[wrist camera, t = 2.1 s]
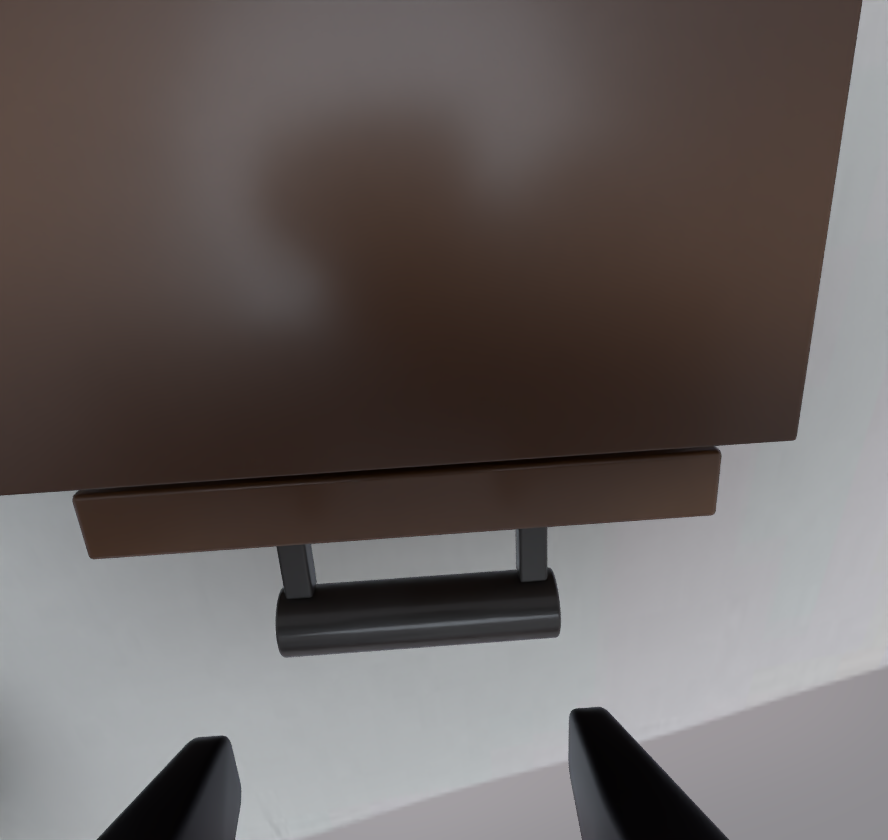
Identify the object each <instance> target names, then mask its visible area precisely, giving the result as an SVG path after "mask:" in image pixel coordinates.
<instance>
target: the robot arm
mask: <svg viewBox="0 0 888 840" xmlns="http://www.w3.org/2000/svg"><path fill="white" fill-rule="evenodd" d="M568 760H569V772H570V779H571V784H572V789H573V794H574V800H575V805H576V810H577V815H578V821H579V826H580V831H581V836H582V840H729V839H728V838H727V837H726V836H725V835H724V834H723V833H722V832H721V831H720V830H719V829H718V828H717V827H716V825H715V824H714V823H713V822H712V821H711V820H710V819H709V818H708V817H707V816H706V815H705V814H704V813H703V812H702V811H701V810H700V808H699V807H698V806H697V805H696V804H695V803H694V802H693V801H692V800H691V799H690V798H689V797H688V796H687V795H686V794H685V792H684V791H682V789H681V788H680V787H679V786H678V785H677V784H676V783H675V782H674V781H673V780H672V779H671V778H670V777H669V776H668V774H667V773H666V772H665V771H664V770H663V769H662V768H661V767H660V766H659V765H658V764H657V763H656V762H655V761H654V760H653V759H652V757H651V756H650V755H649V754H648V753H647V752H646V751H645V750H644V749H643V748H642V747H641V746H640V745H639V744H638V743H637V742H636V740H635V739H634V738H633V737H632V736H631V735H630V734H629V733H628V732H627V731H626V730H625V729H624V728H623V727H622V726H621V725H620V724H619V722H618V721H617V720H616V719H615V718H614V717H613V716H612V715H611V714H610V713H609V712H608V711H607V710H606V709H604V708H602V707H591V708H578V709H574V710H572V711H571V713H570V716H569V753H568ZM240 805H241V784H240V779H239V775H238V771H237V766H236V762H235V758H234V754H233V749H232V745H231V742H230V740H229V739H228V738H227V737H226V736H211V737H198V738H195V739H193V740H191V741H190V742H189V743H187V744H186V745H185V747H184V748H183V749H182V750H181V751H180V752H179V753H178V754H177V755H176V756H175V757H174V758H173V759H172V760H171V761H170V762H169V763H168V765H167V766H166V767H165V768H164V769H163V770H162V771H161V772H160V773H159V774H158V775H157V776H156V777H155V778H154V779H153V780H152V782H151V783H150V784H149V785H148V786H147V787H146V788H145V789H144V790H143V791H142V792H141V793H140V794H139V795H138V796H137V797H136V798H135V800H134V801H133V802H132V803H131V804H130V805H129V806H128V807H127V808H126V809H125V810H124V811H123V812H122V813H121V814H120V815H119V816H118V818H117V819H116V820H115V821H114V822H113V823H112V824H111V825H110V826H109V827H108V828H107V829H106V830H105V831H104V832H103V833H102V835H101V836H100V837H99V838H98V839H97V840H235V836H236V830H237V824H238V818H239V812H240Z"/></svg>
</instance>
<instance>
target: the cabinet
mask: <svg viewBox="0 0 888 840" xmlns="http://www.w3.org/2000/svg"><path fill="white" fill-rule="evenodd" d="M861 6H862V0H0V496H1V495H15V494H30V493H44V492H58V491H73V490H87V489H101V488H116V487H130V486H145V485H159V484H173V483H188V482H202V481H217V480H231V479H245V478H260V477H274V476H288V475H303V474H317V473H332V472H346V471H360V470H375V469H389V468H404V467H418V466H432V465H447V464H461V463H475V462H490V461H504V460H519V459H533V458H547V457H562V456H576V455H591V454H605V453H619V452H634V451H648V450H662V449H677V448H691V447H706V446H720V445H734V444H749V443H763V442H778V441H792V440H795V439H796V437H797V430H798V424H799V417H800V411H801V404H802V397H803V391H804V384H805V377H806V371H807V364H808V357H809V351H810V344H811V338H812V331H813V324H814V318H815V311H816V304H817V298H818V291H819V284H820V278H821V271H822V265H823V258H824V251H825V245H826V238H827V231H828V225H829V218H830V211H831V205H832V198H833V192H834V185H835V178H836V172H837V165H838V158H839V152H840V145H841V139H842V132H843V125H844V119H845V112H846V105H847V99H848V92H849V85H850V79H851V72H852V66H853V59H854V52H855V46H856V39H857V32H858V26H859V19H860V12H861Z"/></svg>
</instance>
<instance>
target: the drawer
mask: <svg viewBox="0 0 888 840" xmlns="http://www.w3.org/2000/svg"><path fill="white" fill-rule="evenodd" d="M720 464H721V452H720V450H719V449H718V448H717V447H716V446H706V447H691V448H677V449H662V450H648V451H634V452H619V453H605V454H591V455H576V456H562V457H547V458H533V459H519V460H504V461H490V462H475V463H461V464H447V465H432V466H418V467H404V468H389V469H375V470H360V471H346V472H332V473H317V474H303V475H288V476H274V477H260V478H245V479H231V480H217V481H202V482H188V483H173V484H159V485H145V486H130V487H116V488H101V489H87V490H79V491H78V492H77V493H76V494H75V495H73V505H74V508H75V511H76V515H77V518H78V521H79V525H80V528H81V531H82V535H83V538H84V541H85V545H86V548H87V551H88V555H89V557H90V558H91V559H105V558H119V557H133V556H147V555H161V554H175V553H189V552H203V551H217V550H231V549H245V548H259V547H273V546H277V552H278V558H279V563H280V569H281V575H282V580H283V586H284V587H283V588H282V589H281V591H280V594H279V597H278V601H277V608H276V638H277V644H278V648H279V651H280V654H281V655H282V656H283V657H300V656H313V655H327V654H340V653H354V652H367V651H381V650H394V649H408V648H421V647H435V646H449V645H462V644H476V643H489V642H503V641H516V640H530V639H543V638H556V637H558V636H559V634H560V628H561V612H560V601H559V594H558V588H557V583H556V579H555V576H554V573H553V571H552V569H551V568H548V567H547V527H554V526H568V525H582V524H596V523H610V522H624V521H638V520H652V519H666V518H681V517H695V516H709V515H713V514H714V513H715V511H716V502H717V493H718V483H719V474H720ZM512 529H516V568H517V570H506V571H492V572H478V573H464V574H450V575H436V576H423V577H409V578H395V579H381V580H367V581H353V582H340V583H326V584H316V582H317V581H316V574H315V568H314V561H313V555H312V548H311V544H316V543H330V542H344V541H358V540H372V539H386V538H400V537H414V536H428V535H442V534H456V533H470V532H484V531H498V530H512Z"/></svg>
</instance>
